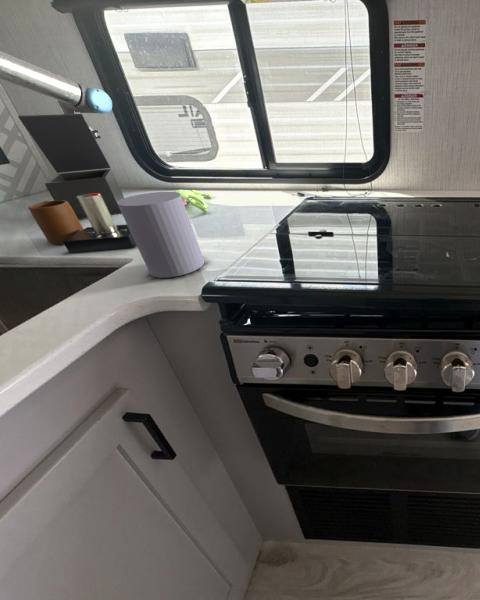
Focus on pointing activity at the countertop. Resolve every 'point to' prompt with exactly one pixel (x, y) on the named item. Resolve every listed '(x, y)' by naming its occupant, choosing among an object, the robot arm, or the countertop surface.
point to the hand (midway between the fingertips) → (67, 139)
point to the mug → (56, 220)
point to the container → (162, 233)
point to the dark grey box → (86, 189)
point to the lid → (66, 141)
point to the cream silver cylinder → (97, 213)
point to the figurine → (196, 196)
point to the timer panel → (100, 240)
